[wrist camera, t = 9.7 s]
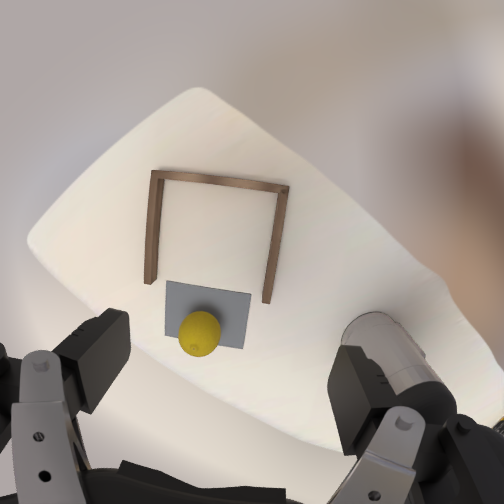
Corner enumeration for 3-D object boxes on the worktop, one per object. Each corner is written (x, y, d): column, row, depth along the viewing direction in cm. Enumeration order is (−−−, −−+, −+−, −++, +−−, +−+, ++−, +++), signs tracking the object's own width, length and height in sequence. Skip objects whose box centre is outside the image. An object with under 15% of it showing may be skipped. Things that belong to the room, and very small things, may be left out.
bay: (287, 186, 36) (289, 186, 34) (269, 296, 40) (269, 304, 37) (158, 170, 36) (151, 169, 34) (150, 277, 40) (143, 283, 37)
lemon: (224, 337, 41) (216, 369, 33) (187, 334, 41) (173, 364, 34) (224, 303, 40) (215, 331, 32) (185, 300, 40) (169, 327, 32)
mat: (251, 294, 40) (251, 294, 39) (242, 348, 42) (242, 349, 42) (166, 280, 40) (166, 280, 39) (165, 335, 42) (164, 335, 42)
